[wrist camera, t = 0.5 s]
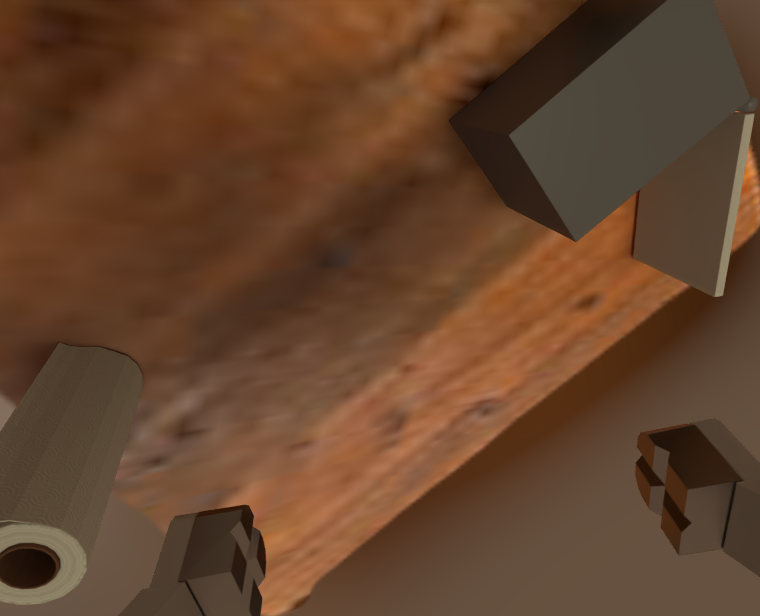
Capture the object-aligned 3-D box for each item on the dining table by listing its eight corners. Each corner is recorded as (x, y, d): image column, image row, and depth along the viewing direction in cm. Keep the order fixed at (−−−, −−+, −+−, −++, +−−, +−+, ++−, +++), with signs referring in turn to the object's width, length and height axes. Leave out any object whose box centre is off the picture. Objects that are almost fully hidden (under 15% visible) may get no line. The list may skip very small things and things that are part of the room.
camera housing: (509, 210, 53) (579, 246, 42) (448, 120, 48) (508, 135, 37) (663, 82, 51) (775, 85, 41) (615, -24, 47) (727, -52, 36)
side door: (642, 255, 58) (727, 295, 48) (631, 258, 57) (714, 297, 47) (660, 91, 51) (763, 96, 41) (647, 92, 51) (748, 98, 41)
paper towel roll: (150, 402, 52) (97, 595, 33) (79, 411, 51) (-17, 618, 32) (134, 332, 49) (66, 500, 30) (59, 341, 48) (-61, 521, 29)
